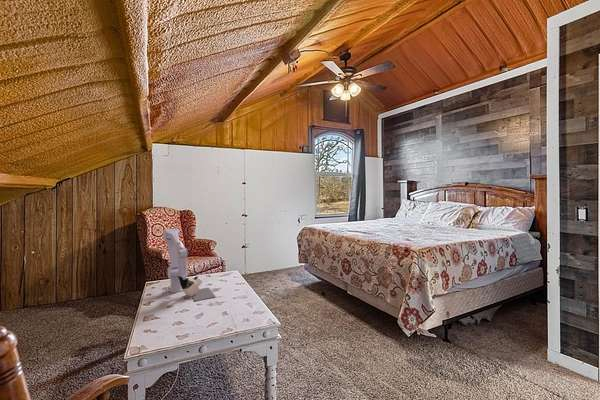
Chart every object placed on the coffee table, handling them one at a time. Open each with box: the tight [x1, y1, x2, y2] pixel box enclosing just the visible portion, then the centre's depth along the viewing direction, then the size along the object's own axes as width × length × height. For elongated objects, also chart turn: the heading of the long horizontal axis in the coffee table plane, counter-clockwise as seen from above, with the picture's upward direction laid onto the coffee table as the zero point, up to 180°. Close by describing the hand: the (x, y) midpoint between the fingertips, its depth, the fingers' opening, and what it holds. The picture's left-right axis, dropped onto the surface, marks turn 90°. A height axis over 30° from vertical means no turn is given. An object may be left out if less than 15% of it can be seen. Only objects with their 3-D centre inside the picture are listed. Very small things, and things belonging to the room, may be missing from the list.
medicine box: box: [181, 276, 203, 298], centre depth 188 cm, size 7×7×12 cm
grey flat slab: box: [191, 287, 216, 302], centre depth 188 cm, size 20×13×1 cm, turn 30°
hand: (183, 287), depth 185 cm, fingers open, 6 cm apart
